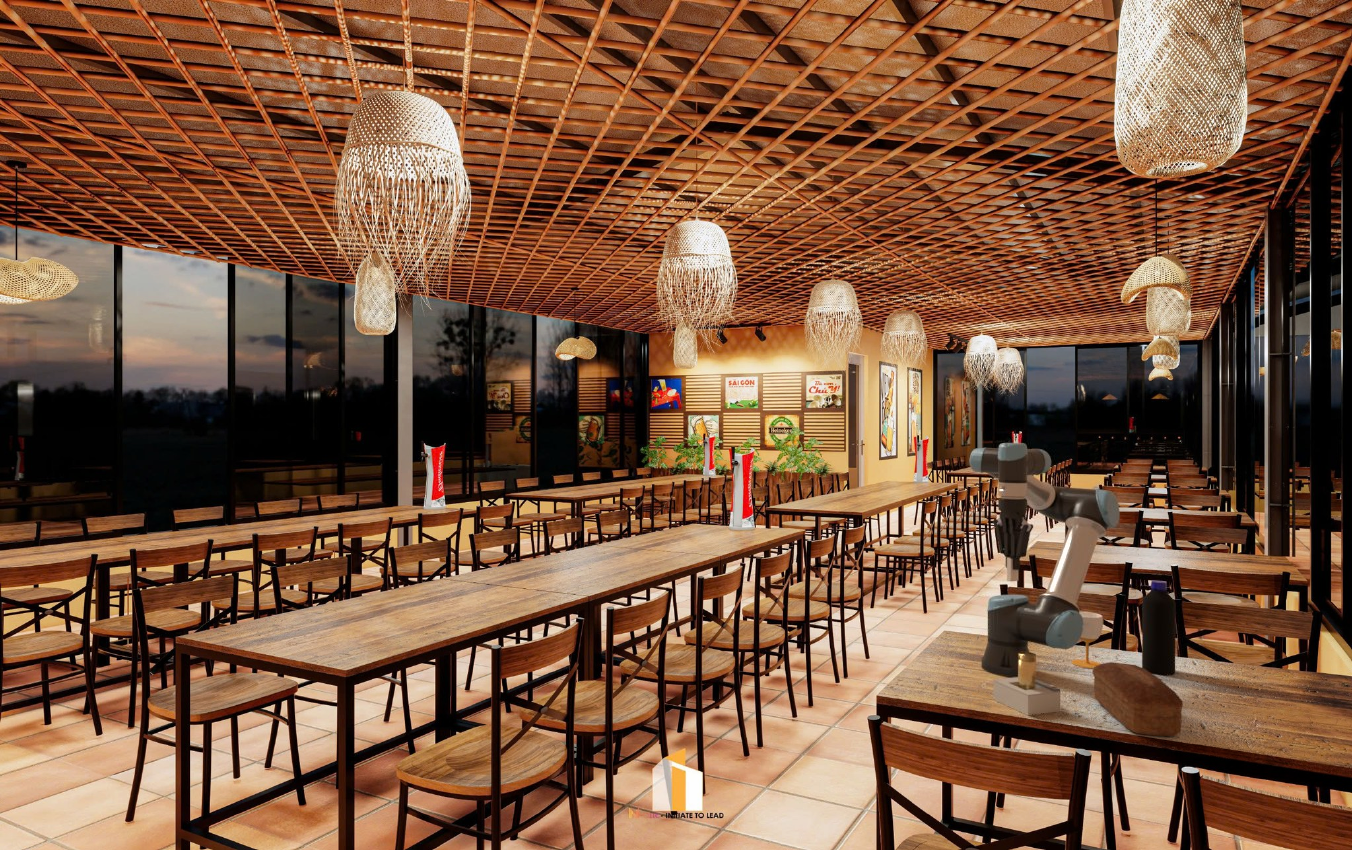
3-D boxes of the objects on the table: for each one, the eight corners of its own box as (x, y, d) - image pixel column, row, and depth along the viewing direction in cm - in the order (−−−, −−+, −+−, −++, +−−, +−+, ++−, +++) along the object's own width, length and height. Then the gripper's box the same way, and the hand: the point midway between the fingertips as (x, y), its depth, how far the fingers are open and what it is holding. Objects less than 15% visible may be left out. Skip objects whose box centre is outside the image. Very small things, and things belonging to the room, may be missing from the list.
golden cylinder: (1026, 701, 213) (1027, 651, 213) (1039, 707, 209) (1039, 655, 209) (1014, 703, 212) (1014, 652, 211) (1026, 709, 207) (1026, 657, 207)
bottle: (1180, 676, 237) (1180, 585, 237) (1148, 674, 239) (1149, 583, 239) (1168, 668, 245) (1168, 579, 246) (1137, 666, 247) (1138, 578, 247)
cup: (1109, 669, 244) (1109, 618, 244) (1080, 668, 244) (1080, 617, 244) (1093, 660, 253) (1094, 611, 253) (1066, 660, 253) (1066, 611, 253)
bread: (1140, 701, 215) (1140, 657, 215) (1190, 742, 187) (1190, 691, 187) (1086, 698, 217) (1086, 654, 217) (1128, 737, 189) (1128, 687, 189)
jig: (1024, 695, 218) (1024, 672, 218) (1060, 711, 206) (1060, 687, 206) (993, 699, 215) (993, 676, 215) (1027, 715, 203) (1028, 691, 203)
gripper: (985, 495, 224) (985, 577, 224) (1019, 500, 211) (1019, 586, 212) (1005, 495, 226) (1005, 575, 226) (1041, 499, 214) (1041, 584, 214)
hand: (1012, 580), depth 219 cm, fingers closed
